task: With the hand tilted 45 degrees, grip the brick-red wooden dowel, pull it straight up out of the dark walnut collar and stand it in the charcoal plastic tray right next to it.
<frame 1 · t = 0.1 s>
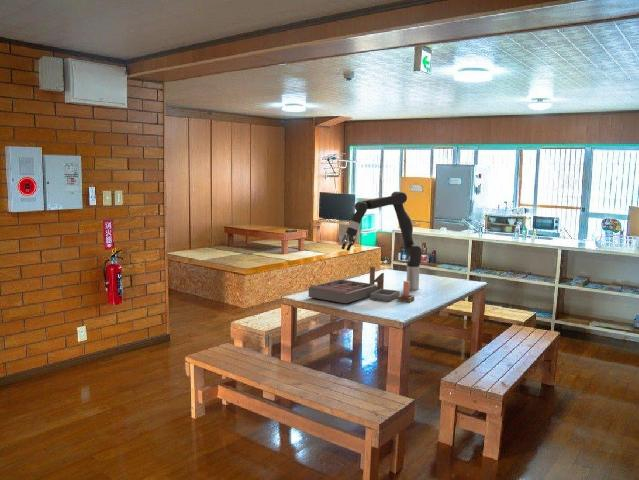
hand: (345, 249, 377), 31 cm above the table, tool tilted 20°, fingers open, 8 cm apart
tray: (385, 297, 367), on the table
organizer tray: (342, 297, 368), on the table
dowel: (406, 291, 360), in the dowel collar
dowel collar: (405, 300, 360), on the table
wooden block: (375, 291, 390), on the table
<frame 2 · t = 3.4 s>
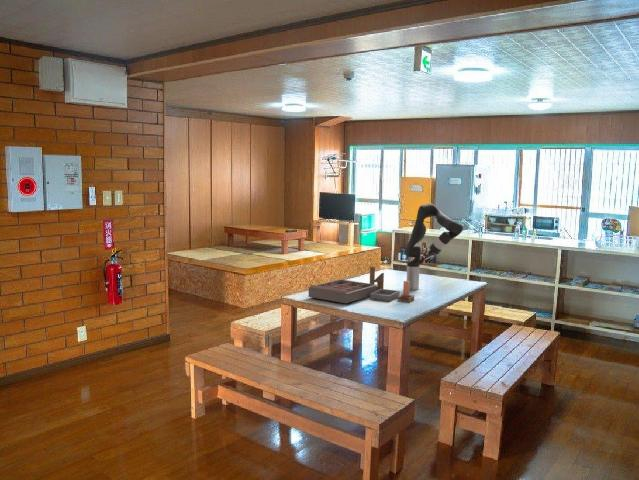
hand: (422, 262, 356), 26 cm above the table, tool tilted 40°, fingers open, 8 cm apart
nothing on the table moved.
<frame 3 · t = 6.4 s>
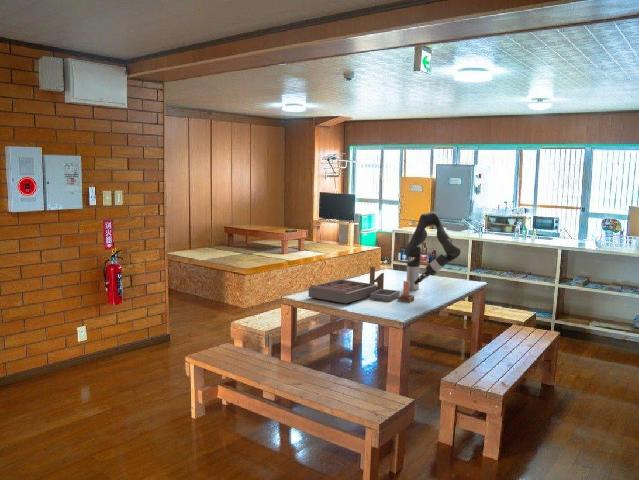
hand: (416, 282, 356), 13 cm above the table, tool tilted 45°, fingers open, 8 cm apart
nothing on the table moved.
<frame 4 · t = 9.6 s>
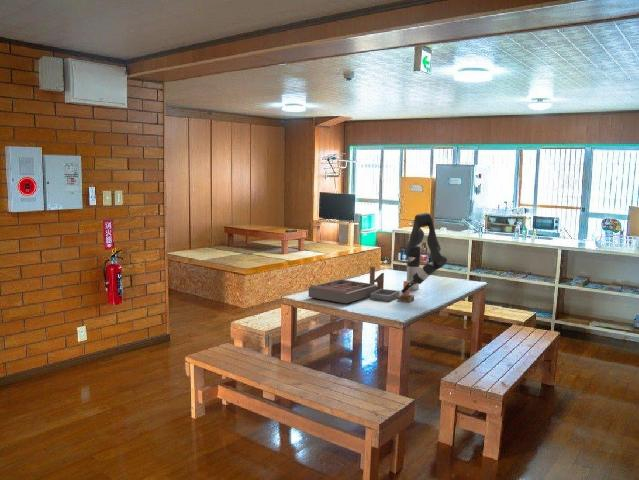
hand: (403, 291, 361), 6 cm above the table, tool tilted 45°, fingers closed on dowel, 4 cm apart
dowel: (406, 291, 360), in the dowel collar, touching gripper
everything else where it was.
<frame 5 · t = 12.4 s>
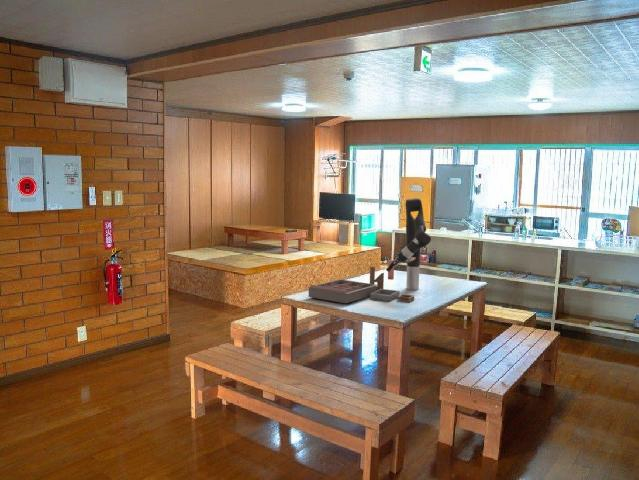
hand: (388, 270, 365), 20 cm above the table, tool tilted 45°, fingers closed on dowel, 4 cm apart
dowel: (391, 269, 364), point 20 cm above the table, touching gripper
everything else where it was.
when the fingers open (8 cm above the table, at t = 15.3 s): dowel drops 1 cm, resting on tray.
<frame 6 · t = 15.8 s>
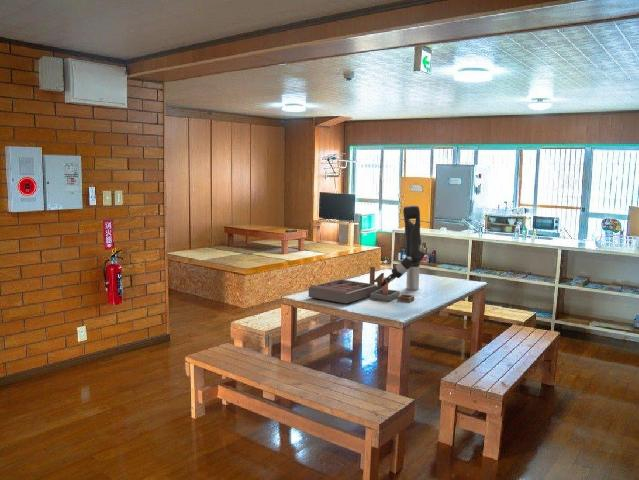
hand: (383, 284, 367), 9 cm above the table, tool tilted 45°, fingers open, 8 cm apart
dowel: (385, 287, 367), in the tray, point 8 cm above the table
everything else where it was.
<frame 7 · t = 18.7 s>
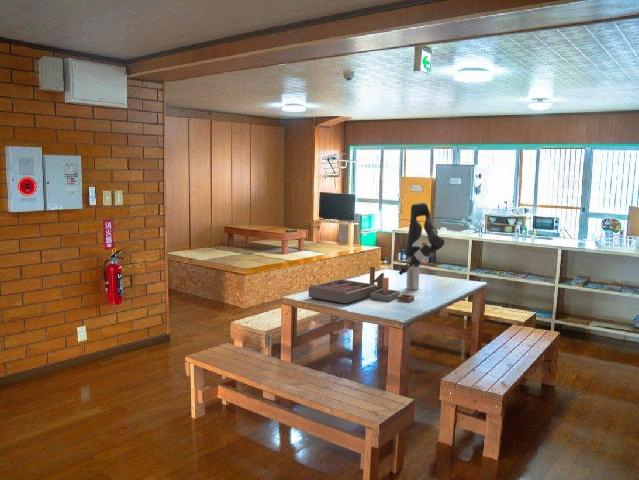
hand: (401, 272, 360), 19 cm above the table, tool tilted 45°, fingers open, 8 cm apart
nothing on the table moved.
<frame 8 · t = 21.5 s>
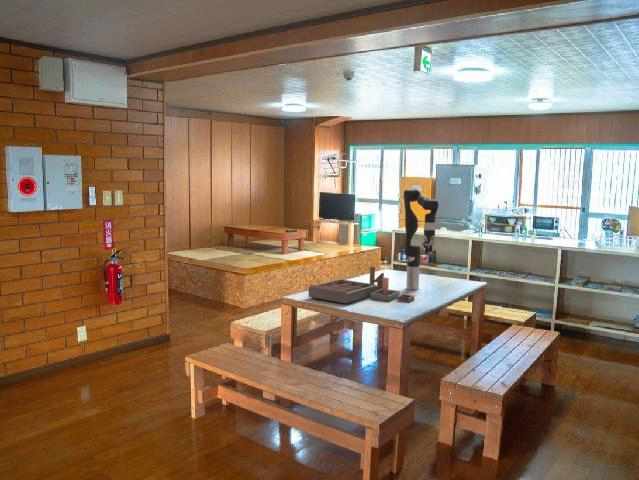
hand: (428, 252, 362), 32 cm above the table, tool pointing down, fingers open, 8 cm apart
nothing on the table moved.
at the end: dowel inside the target area on the tray (0.1 cm from its centre), point 7.5 cm above the tray's base; dowel tilted 0°; the gripper is holding nothing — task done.
